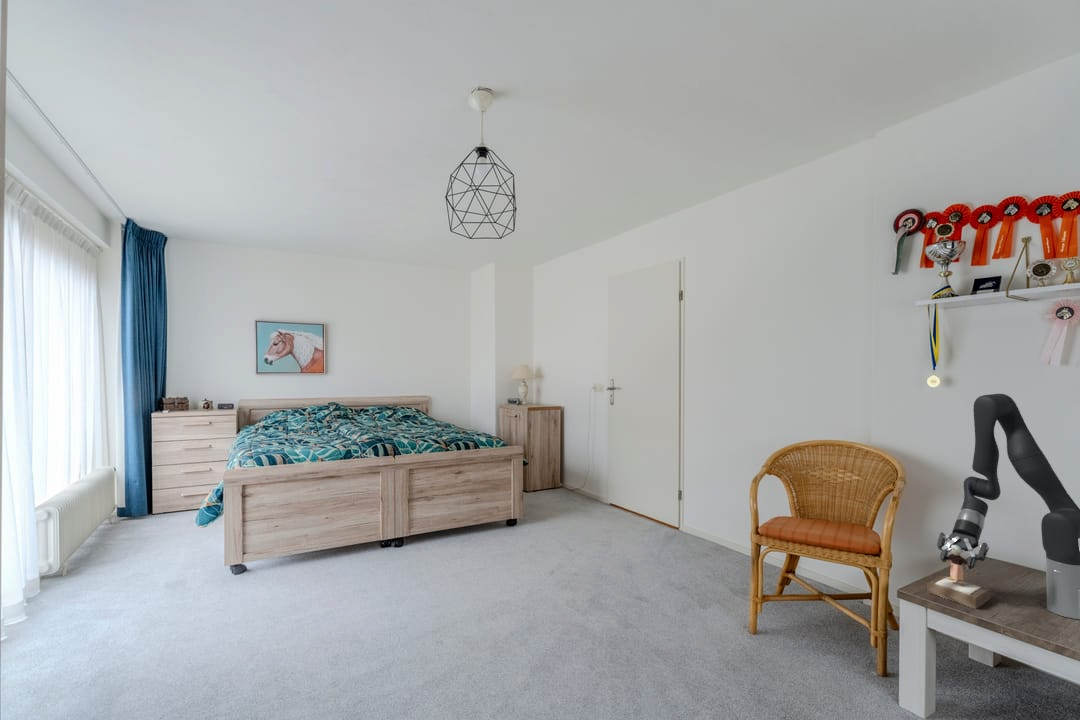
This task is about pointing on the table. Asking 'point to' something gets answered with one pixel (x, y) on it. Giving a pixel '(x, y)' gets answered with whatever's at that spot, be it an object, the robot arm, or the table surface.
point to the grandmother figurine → (956, 564)
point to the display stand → (959, 591)
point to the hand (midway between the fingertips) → (955, 564)
